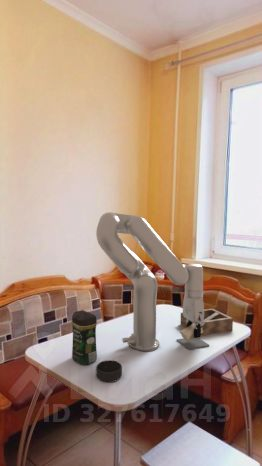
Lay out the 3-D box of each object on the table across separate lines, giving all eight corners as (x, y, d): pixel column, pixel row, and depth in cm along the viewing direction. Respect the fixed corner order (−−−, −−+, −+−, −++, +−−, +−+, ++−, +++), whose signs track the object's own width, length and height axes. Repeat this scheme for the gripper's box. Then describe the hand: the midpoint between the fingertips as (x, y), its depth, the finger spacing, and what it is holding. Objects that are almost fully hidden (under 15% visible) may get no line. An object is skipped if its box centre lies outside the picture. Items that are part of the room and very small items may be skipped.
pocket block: (198, 336, 149) (198, 323, 148) (180, 324, 164) (180, 312, 163) (232, 330, 156) (232, 318, 155) (212, 319, 171) (212, 308, 170)
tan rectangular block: (188, 341, 137) (186, 335, 136) (182, 337, 141) (180, 331, 141) (203, 332, 139) (201, 325, 139) (197, 328, 144) (194, 322, 143)
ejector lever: (197, 331, 154) (196, 329, 154) (190, 327, 160) (189, 325, 160) (221, 315, 159) (221, 314, 159) (214, 312, 165) (213, 310, 164)
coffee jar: (68, 358, 126) (68, 311, 125) (86, 352, 131) (85, 307, 130) (82, 367, 119) (82, 317, 117) (100, 361, 124) (100, 313, 122)
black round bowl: (127, 376, 113) (127, 365, 113) (107, 386, 107) (107, 374, 106) (110, 367, 119) (110, 357, 119) (90, 376, 113) (90, 365, 113)
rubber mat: (188, 349, 134) (188, 348, 134) (176, 340, 143) (176, 339, 143) (209, 346, 138) (209, 344, 138) (196, 337, 147) (196, 336, 147)
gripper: (176, 289, 145) (175, 329, 147) (197, 299, 130) (197, 344, 131) (190, 288, 148) (190, 327, 150) (213, 297, 133) (212, 341, 134)
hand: (193, 334), depth 140 cm, fingers closed on tan rectangular block, 4 cm apart
